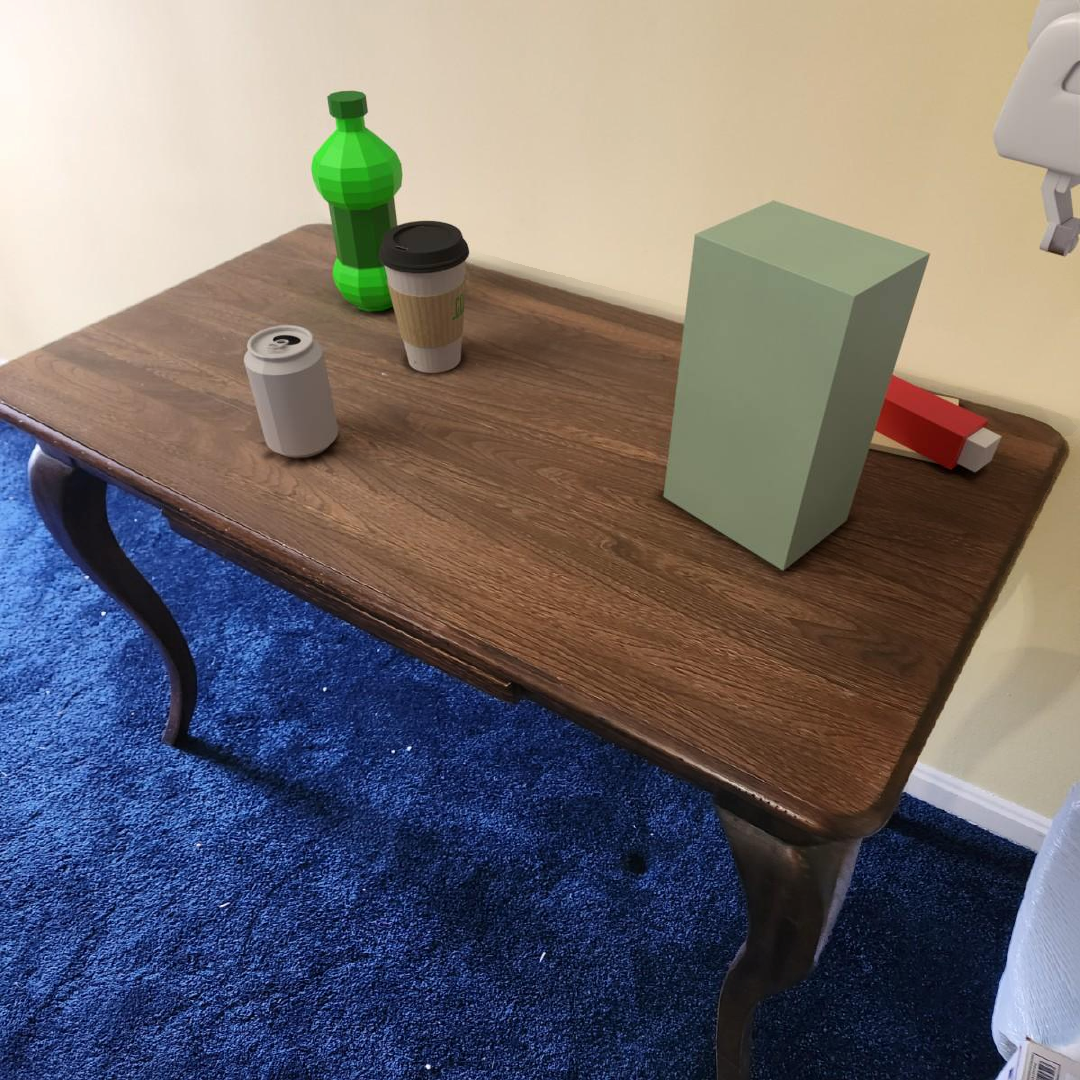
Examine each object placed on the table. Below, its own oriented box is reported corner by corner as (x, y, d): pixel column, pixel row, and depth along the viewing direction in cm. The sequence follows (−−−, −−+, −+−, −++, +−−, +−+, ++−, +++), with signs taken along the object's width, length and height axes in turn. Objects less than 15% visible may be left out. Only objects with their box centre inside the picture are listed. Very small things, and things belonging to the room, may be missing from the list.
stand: (846, 520, 80) (930, 253, 63) (783, 571, 75) (855, 296, 58) (728, 454, 88) (773, 200, 71) (663, 496, 83) (694, 234, 66)
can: (352, 428, 92) (333, 326, 84) (317, 468, 87) (293, 364, 79) (291, 415, 94) (267, 314, 86) (252, 454, 88) (223, 351, 80)
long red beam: (993, 462, 86) (1008, 429, 83) (969, 479, 84) (983, 446, 81) (799, 365, 99) (806, 334, 97) (774, 378, 97) (781, 347, 95)
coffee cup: (492, 352, 103) (486, 230, 93) (442, 390, 97) (430, 263, 87) (427, 331, 107) (415, 211, 97) (376, 366, 101) (357, 242, 91)
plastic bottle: (399, 278, 118) (375, 78, 101) (425, 311, 111) (404, 102, 94) (327, 293, 115) (291, 89, 98) (350, 327, 108) (314, 114, 91)
